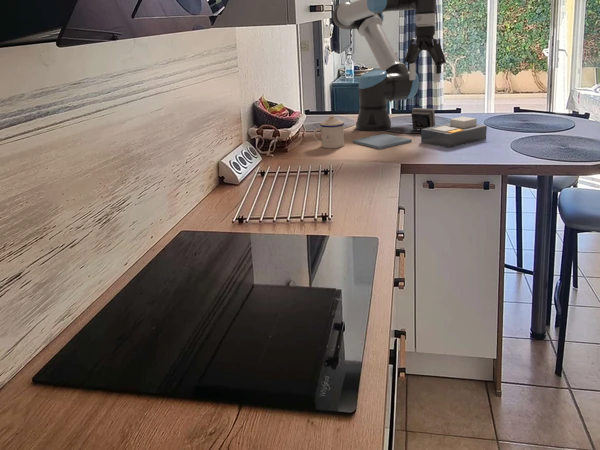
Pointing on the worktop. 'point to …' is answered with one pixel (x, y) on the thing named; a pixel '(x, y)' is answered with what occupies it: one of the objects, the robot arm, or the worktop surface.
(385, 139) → the pad
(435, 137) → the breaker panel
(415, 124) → the electrical switch
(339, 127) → the teacup with lid
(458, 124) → the block
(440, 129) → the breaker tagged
